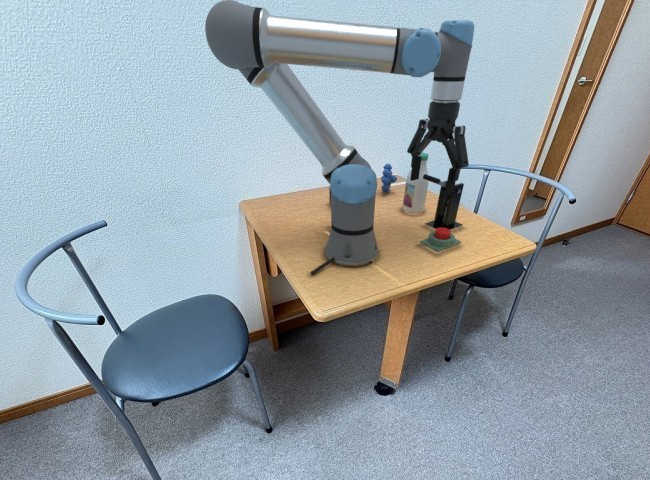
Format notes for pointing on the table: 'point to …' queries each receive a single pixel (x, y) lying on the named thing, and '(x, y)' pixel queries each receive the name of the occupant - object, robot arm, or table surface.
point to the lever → (434, 180)
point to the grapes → (387, 178)
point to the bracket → (451, 208)
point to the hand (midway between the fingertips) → (430, 185)
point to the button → (442, 233)
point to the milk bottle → (416, 189)
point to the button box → (440, 242)
